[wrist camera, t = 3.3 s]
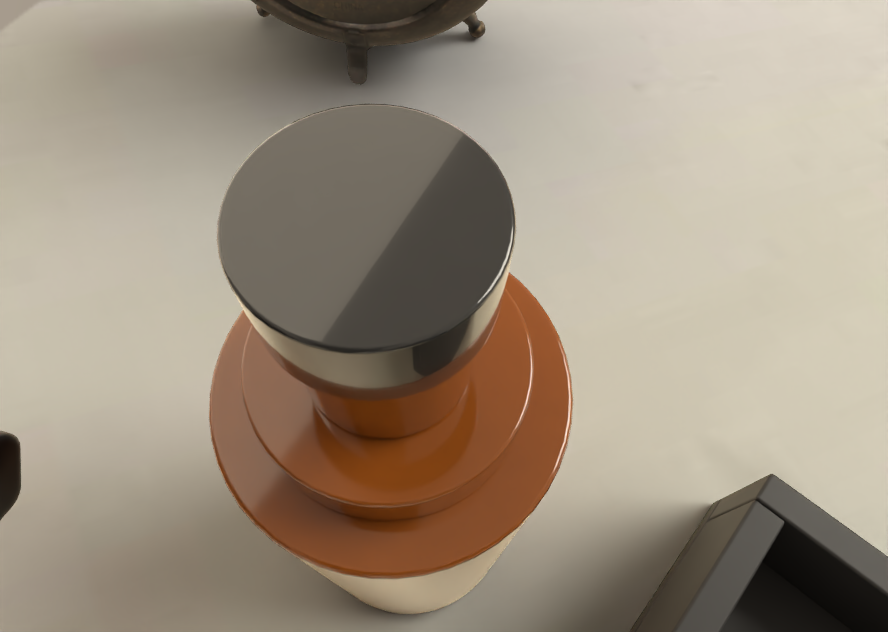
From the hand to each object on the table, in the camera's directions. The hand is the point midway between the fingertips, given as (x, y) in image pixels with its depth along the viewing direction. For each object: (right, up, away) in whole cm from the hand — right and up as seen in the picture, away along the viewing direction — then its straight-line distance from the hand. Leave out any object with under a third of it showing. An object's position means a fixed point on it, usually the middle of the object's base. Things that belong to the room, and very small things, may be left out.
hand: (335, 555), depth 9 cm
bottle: (0, -2, +10) cm, 10 cm away
